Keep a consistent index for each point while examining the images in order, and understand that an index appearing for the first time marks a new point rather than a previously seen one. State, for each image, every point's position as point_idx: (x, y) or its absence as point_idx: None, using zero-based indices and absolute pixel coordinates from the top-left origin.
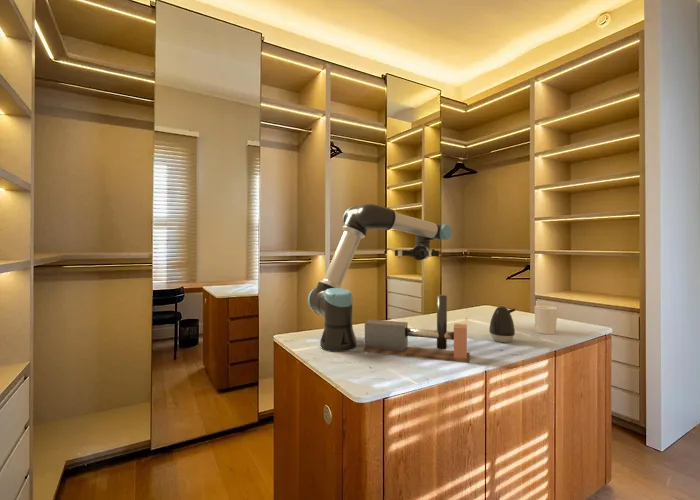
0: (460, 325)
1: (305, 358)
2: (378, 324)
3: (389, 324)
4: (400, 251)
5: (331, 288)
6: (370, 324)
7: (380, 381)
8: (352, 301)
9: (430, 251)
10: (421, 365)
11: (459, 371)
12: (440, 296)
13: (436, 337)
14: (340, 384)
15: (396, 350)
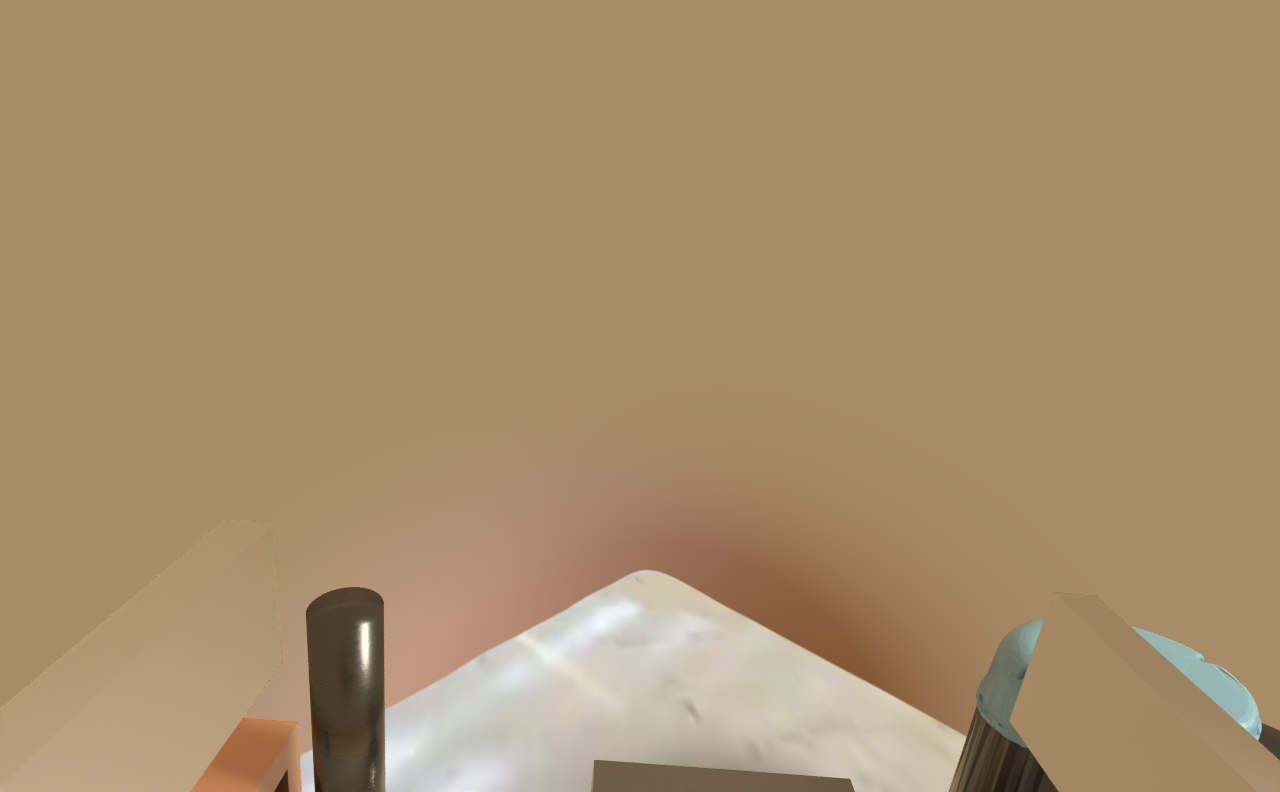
0: (221, 774)
1: None
2: (760, 775)
3: (693, 773)
4: (1135, 705)
5: (1235, 692)
6: (811, 781)
7: (623, 628)
8: (1006, 727)
9: (226, 533)
10: (493, 763)
11: None
12: (366, 591)
13: None
14: (718, 602)
15: None
